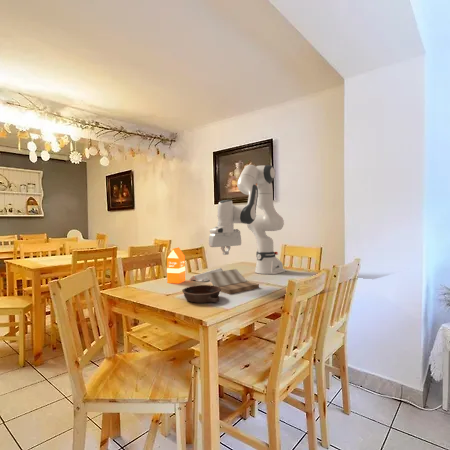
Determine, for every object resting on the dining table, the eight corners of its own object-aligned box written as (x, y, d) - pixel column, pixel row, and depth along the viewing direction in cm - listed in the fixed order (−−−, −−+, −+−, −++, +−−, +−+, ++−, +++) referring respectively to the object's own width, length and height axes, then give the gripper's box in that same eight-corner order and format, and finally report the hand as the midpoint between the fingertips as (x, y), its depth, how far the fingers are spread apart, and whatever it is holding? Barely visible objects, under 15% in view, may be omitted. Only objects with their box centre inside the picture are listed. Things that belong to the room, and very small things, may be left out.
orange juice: (167, 282, 172) (166, 248, 172) (173, 279, 181) (173, 247, 180) (179, 283, 170) (178, 248, 170) (185, 280, 179) (185, 247, 178)
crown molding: (204, 283, 172) (204, 277, 172) (188, 281, 178) (188, 275, 178) (230, 273, 199) (230, 268, 199) (215, 272, 205) (215, 267, 205)
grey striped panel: (235, 271, 172) (236, 269, 171) (246, 283, 165) (247, 281, 164) (206, 276, 160) (207, 273, 159) (216, 289, 153) (218, 286, 152)
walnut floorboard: (247, 284, 164) (247, 281, 164) (258, 287, 157) (258, 283, 156) (218, 290, 152) (218, 286, 152) (229, 294, 144) (229, 289, 144)
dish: (199, 292, 150) (199, 282, 150) (232, 299, 136) (232, 289, 135) (171, 299, 137) (171, 289, 137) (204, 308, 123) (204, 297, 122)
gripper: (236, 228, 171) (236, 252, 171) (207, 229, 158) (207, 255, 159) (243, 229, 166) (243, 253, 166) (213, 229, 153) (214, 256, 153)
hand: (225, 254), depth 162 cm, fingers closed
